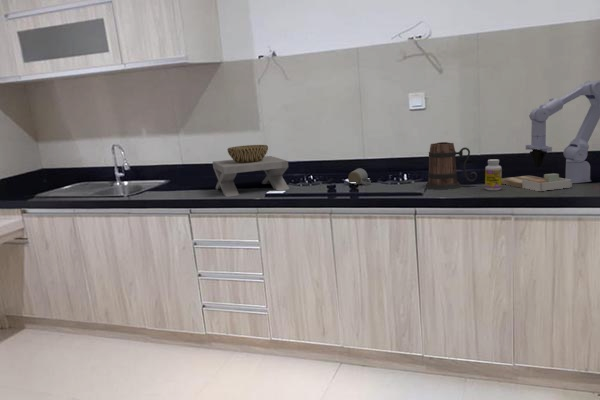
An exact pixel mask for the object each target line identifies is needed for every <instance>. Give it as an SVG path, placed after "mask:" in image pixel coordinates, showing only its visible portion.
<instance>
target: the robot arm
mask: <svg viewBox="0 0 600 400" xmlns="http://www.w3.org/2000/svg"><path fill="white" fill-rule="evenodd" d="M581 96H585V98H587V100H588V101H589V103H590V107H589V109H588V111H587V113H586V115H585V117H584V119H583V121H582V124H581V125H580V127H579V129H578V131H577V133H576V136H575V137H574V138H573V140H571V141H570V142H569V144H568V145H567V146H566V147H565V148H564V150H563V157H564V158H565V179H570V180H572V184H580V183H589V182H592V179H591V164H590V163H589V162H588V161H586V159H587V157H588V151H589V149H590V145H589V141H590V139H591V137H592V135H593V133H594V131H595V128H596V127H597V125H598V122H599V120H600V80H593V81H592V80H591V81H590V80H587V81H585V82H584V83H581V84H579V85H577V86H576V87H574V88H573V89H571V90H570V91H568V92H567V93H565V94H564V95H562V96H561V97H559V98H558V97H554V98H553V97H551V98H549V100H548V101H547V102H545V103H543V104H540V105H539V107H535V108H533V109H532V110H531V112H530V114H528V116H529V119H530V121H531V131H530V132H531V133H530V134H531V135H530V137H531V139H530V141H531V142H530V143H531V144H525V150H528V151H529V150H530V151H529V155H531V157H532V161H533V163H534V167H535V168H541V167H542V165H543V162H544V159H545V156H546V155H547V153H549V152H553V147H552V146H548V145H547V144H546V140H547V139H546V138H547V137H546V134H547V120H548V119H549V117H551V116H552V115H554V114H556V113H558V112H559V111H561V110H563V107H564V106H565V105H566V104H567V103H569V102H571V101H574V100H575V99H577V98H579V97H581Z"/></svg>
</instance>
